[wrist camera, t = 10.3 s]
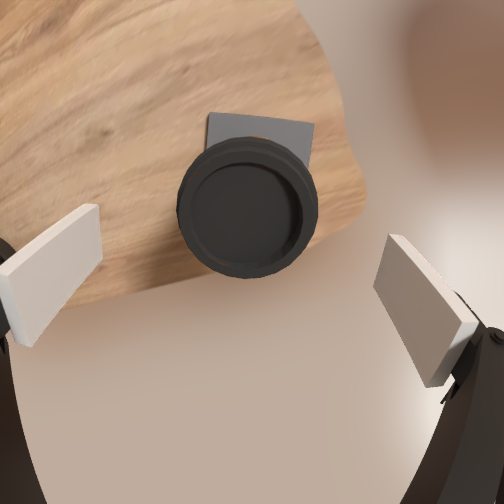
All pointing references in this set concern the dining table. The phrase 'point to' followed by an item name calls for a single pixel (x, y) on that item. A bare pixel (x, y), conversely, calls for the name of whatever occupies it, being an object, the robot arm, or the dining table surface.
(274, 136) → the coaster
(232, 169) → the coffee cup
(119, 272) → the dining table surface
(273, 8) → the dining table surface
